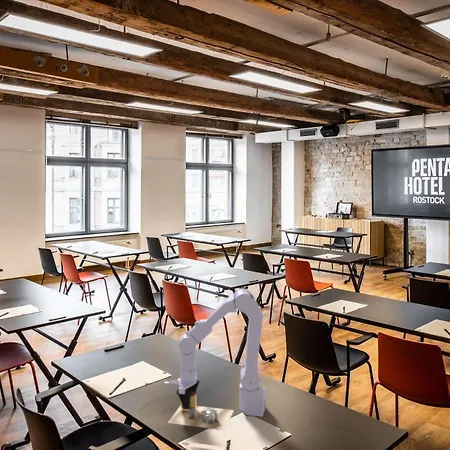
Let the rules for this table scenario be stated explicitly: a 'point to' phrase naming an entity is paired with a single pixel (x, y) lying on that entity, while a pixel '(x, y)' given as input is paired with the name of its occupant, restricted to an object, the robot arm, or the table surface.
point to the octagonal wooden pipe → (191, 401)
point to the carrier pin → (191, 413)
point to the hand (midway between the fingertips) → (188, 404)
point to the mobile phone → (173, 382)
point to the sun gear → (209, 416)
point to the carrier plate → (183, 418)
